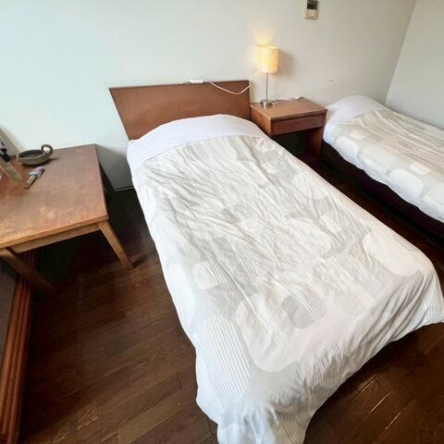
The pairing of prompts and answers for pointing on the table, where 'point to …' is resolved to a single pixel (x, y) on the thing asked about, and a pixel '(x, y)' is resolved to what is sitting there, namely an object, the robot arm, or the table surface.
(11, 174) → the stick
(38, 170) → the paintbrush
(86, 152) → the table surface
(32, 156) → the bowl
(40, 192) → the table surface
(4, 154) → the robot arm
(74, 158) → the table surface
